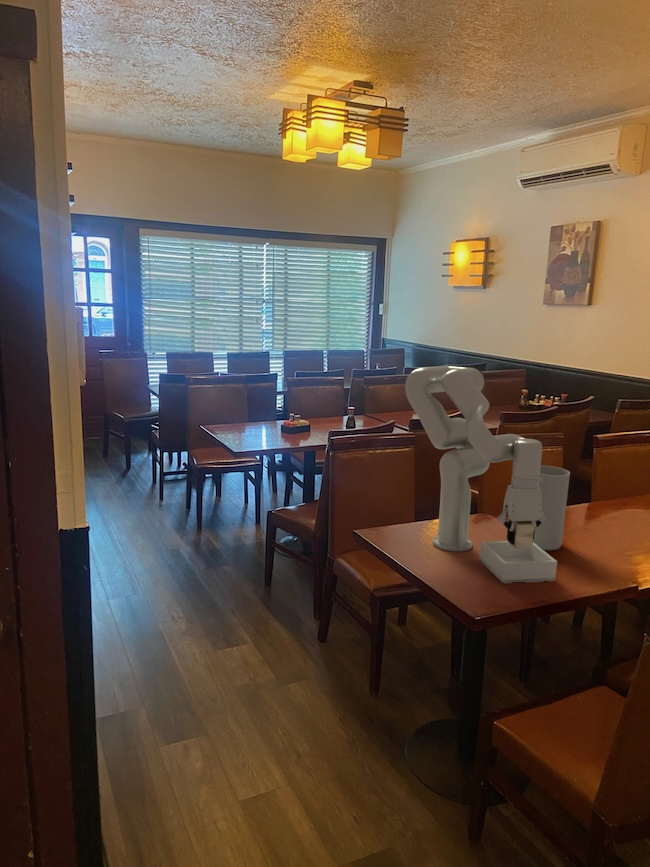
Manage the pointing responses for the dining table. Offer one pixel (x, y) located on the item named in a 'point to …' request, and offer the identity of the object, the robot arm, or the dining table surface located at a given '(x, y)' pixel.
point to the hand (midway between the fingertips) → (520, 541)
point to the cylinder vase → (552, 507)
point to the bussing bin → (517, 562)
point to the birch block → (523, 535)
